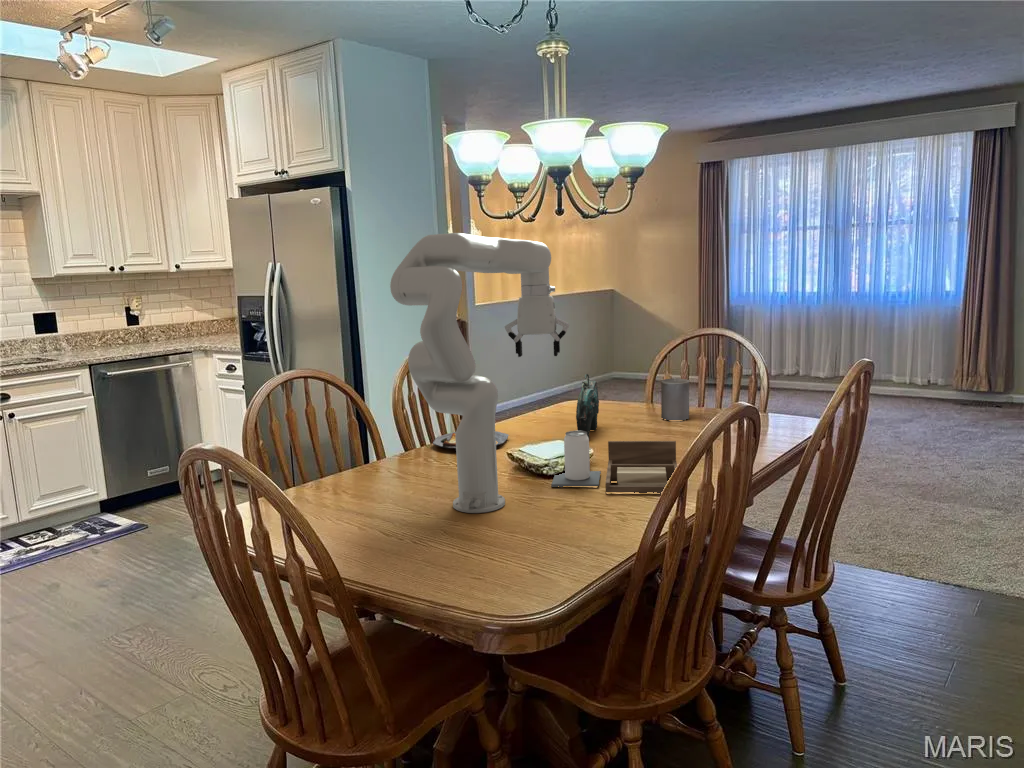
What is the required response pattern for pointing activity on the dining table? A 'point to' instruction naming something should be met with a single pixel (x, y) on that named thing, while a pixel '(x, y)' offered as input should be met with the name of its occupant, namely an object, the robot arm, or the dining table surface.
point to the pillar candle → (675, 399)
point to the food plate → (450, 440)
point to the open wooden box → (639, 461)
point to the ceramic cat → (587, 406)
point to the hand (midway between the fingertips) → (538, 355)
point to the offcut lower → (643, 484)
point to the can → (576, 455)
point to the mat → (563, 481)
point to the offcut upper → (641, 475)
